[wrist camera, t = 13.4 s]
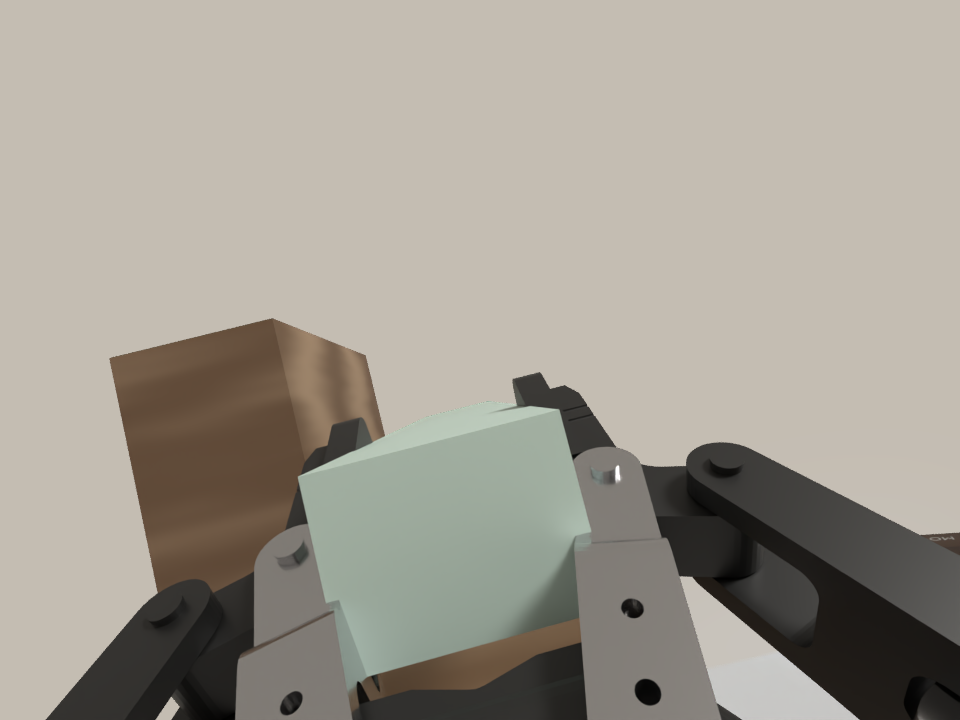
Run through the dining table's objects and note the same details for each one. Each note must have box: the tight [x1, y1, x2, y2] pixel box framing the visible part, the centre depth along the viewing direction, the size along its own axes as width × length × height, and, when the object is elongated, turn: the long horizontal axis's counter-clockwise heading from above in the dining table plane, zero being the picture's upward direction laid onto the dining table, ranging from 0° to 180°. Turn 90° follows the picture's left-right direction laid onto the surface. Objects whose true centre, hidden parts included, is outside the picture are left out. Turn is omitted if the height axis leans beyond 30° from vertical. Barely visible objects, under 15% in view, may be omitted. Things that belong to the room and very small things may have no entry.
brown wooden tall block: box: [110, 319, 581, 697], centre depth 21 cm, size 14×12×32 cm
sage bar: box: [298, 401, 591, 677], centre depth 19 cm, size 24×4×3 cm, turn 2°
